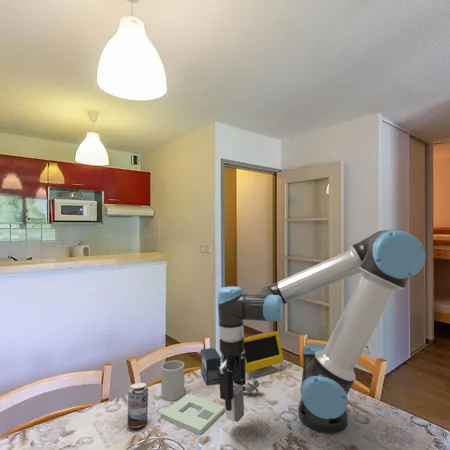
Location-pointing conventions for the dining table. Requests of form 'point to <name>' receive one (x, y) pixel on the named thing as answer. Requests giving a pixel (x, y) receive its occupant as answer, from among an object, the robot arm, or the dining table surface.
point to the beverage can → (137, 405)
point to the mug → (172, 380)
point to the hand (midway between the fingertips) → (234, 415)
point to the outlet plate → (199, 420)
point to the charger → (238, 401)
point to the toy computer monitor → (262, 353)
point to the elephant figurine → (251, 386)
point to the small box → (210, 365)
